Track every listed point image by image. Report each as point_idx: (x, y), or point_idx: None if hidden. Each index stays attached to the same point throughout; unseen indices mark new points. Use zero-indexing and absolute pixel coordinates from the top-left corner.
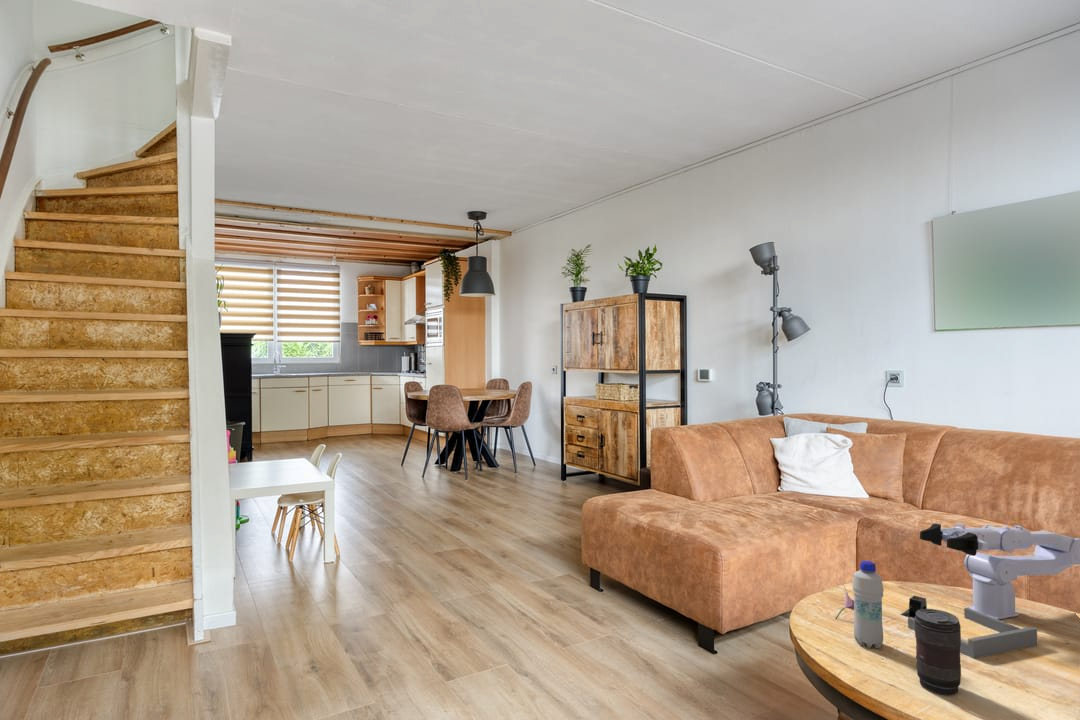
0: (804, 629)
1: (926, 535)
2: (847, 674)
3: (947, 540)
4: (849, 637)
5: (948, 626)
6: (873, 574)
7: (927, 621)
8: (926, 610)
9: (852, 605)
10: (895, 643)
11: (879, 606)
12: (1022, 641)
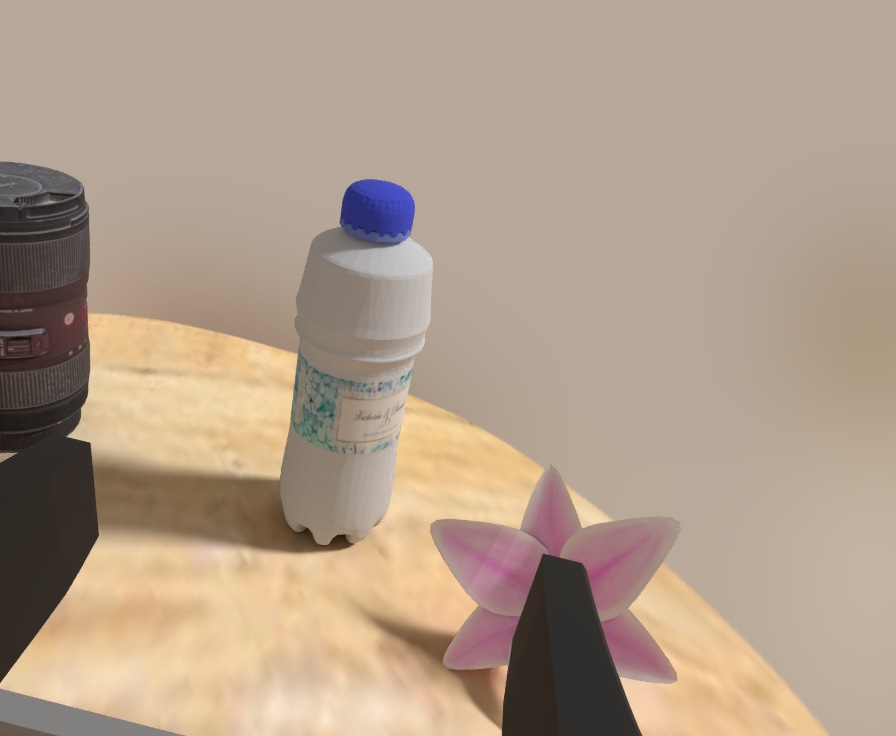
0: (529, 476)
1: (524, 679)
2: (259, 357)
3: (82, 454)
4: (407, 518)
5: None
6: (339, 228)
7: (28, 165)
8: (53, 206)
9: (528, 576)
10: (263, 588)
11: (297, 360)
12: None
